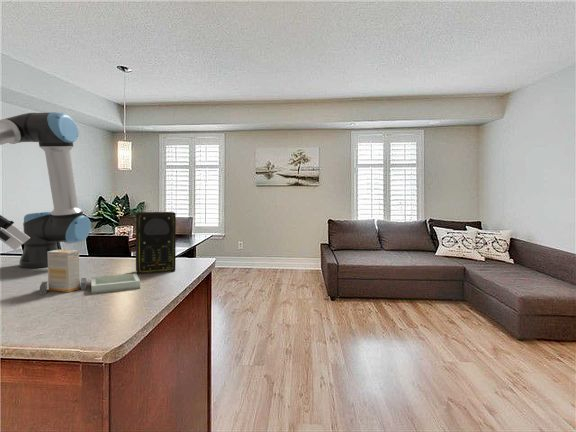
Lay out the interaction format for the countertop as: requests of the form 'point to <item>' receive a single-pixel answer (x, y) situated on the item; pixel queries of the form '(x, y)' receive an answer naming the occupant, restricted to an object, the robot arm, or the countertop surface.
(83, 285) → the grey small blocks
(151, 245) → the voltmeter
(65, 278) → the supplement box
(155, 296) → the countertop surface
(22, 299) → the countertop surface
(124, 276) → the tray
